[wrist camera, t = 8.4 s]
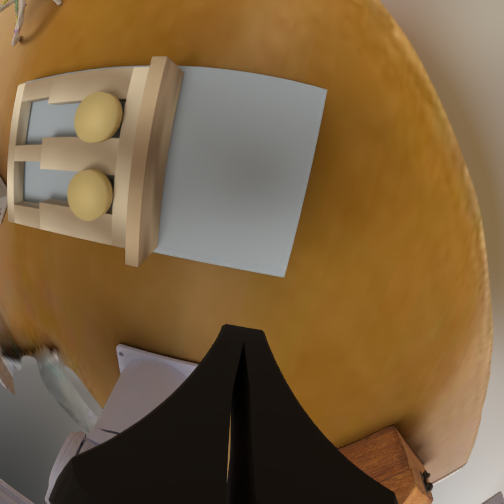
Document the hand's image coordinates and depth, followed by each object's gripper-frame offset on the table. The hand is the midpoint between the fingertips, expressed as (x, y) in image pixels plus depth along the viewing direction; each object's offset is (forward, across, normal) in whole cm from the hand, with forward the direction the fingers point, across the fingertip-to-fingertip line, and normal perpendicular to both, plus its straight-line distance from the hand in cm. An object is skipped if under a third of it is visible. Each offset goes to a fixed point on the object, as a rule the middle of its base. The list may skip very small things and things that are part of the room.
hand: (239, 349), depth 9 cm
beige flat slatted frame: (+8, +13, -5) cm, 16 cm away
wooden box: (+10, -28, +34) cm, 46 cm away
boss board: (+10, +9, -5) cm, 14 cm away
